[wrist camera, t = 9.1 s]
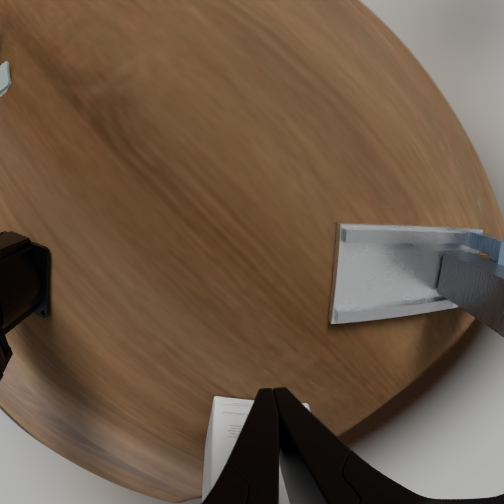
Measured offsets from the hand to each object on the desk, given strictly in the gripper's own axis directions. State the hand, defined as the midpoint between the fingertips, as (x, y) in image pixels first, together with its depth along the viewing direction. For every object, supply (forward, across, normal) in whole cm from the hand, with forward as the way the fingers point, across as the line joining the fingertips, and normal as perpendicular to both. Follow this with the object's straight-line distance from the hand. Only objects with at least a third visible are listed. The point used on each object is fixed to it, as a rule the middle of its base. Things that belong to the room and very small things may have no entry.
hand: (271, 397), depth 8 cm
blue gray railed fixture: (+12, -14, 0) cm, 18 cm away
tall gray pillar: (+11, -19, 0) cm, 22 cm away
